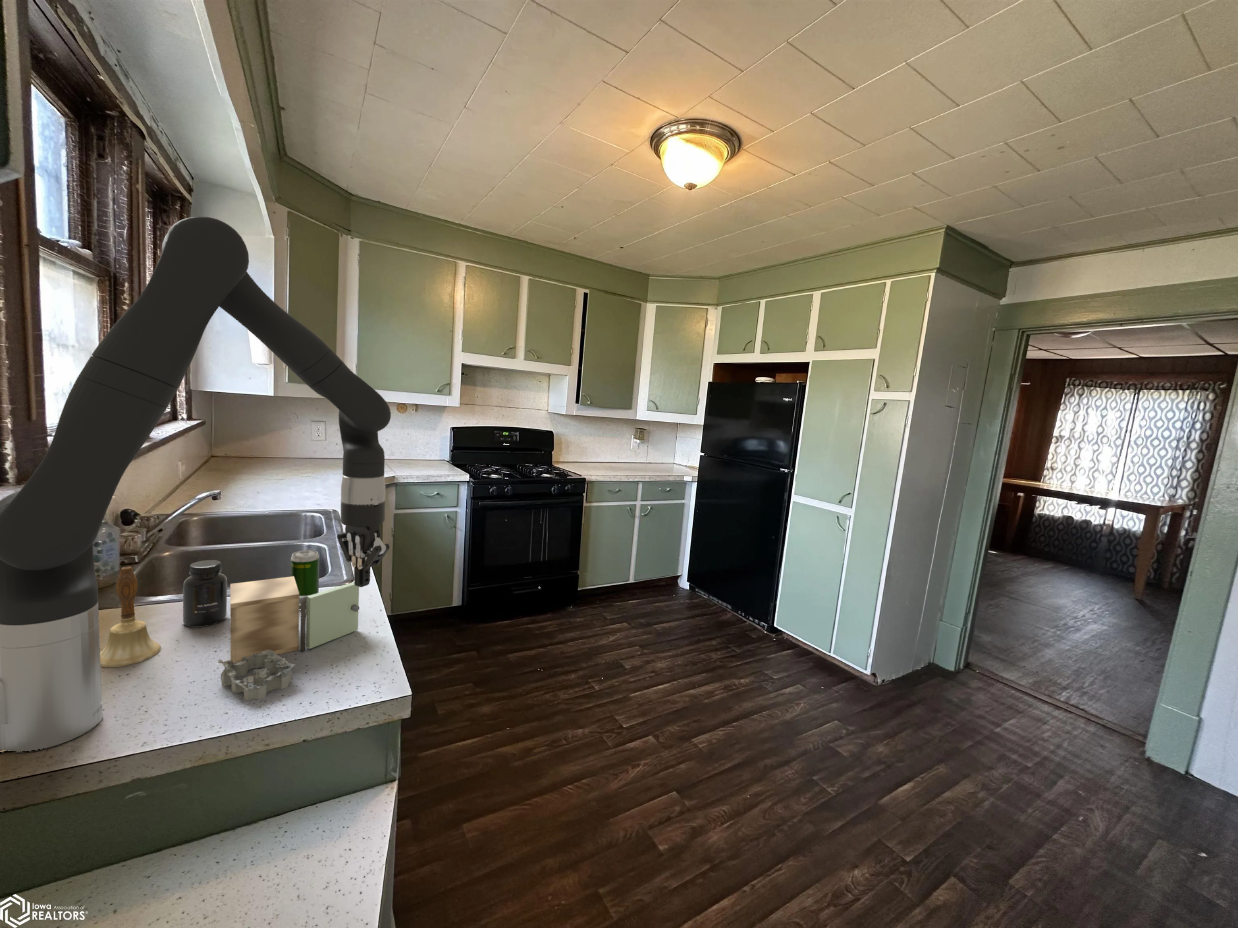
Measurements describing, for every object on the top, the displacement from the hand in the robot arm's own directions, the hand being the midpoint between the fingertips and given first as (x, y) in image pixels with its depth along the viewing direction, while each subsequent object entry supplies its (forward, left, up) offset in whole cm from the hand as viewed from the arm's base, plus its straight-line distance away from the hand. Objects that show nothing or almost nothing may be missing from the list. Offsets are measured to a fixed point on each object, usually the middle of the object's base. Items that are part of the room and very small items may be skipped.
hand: (362, 585), depth 96 cm
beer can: (-7, +23, -12) cm, 27 cm away
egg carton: (-17, -7, -12) cm, 22 cm away
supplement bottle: (-24, +23, -12) cm, 35 cm away
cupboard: (-15, +7, -12) cm, 20 cm away
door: (-4, +3, -11) cm, 12 cm away
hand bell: (-34, +13, -12) cm, 38 cm away
